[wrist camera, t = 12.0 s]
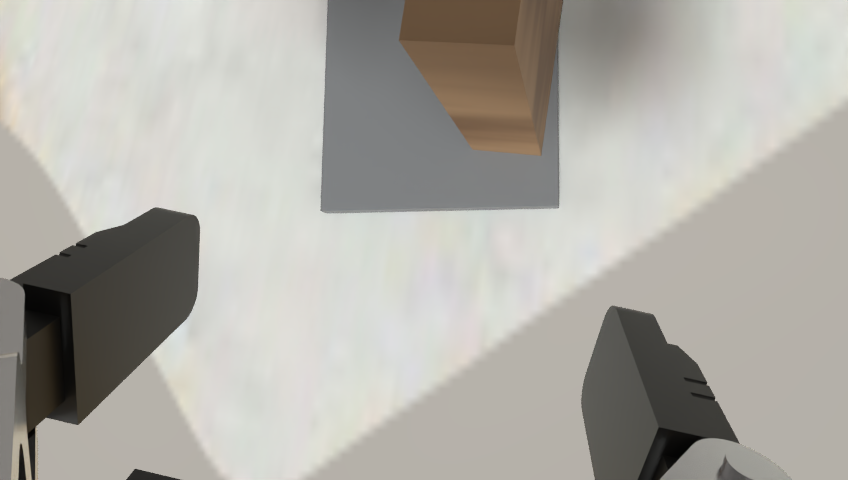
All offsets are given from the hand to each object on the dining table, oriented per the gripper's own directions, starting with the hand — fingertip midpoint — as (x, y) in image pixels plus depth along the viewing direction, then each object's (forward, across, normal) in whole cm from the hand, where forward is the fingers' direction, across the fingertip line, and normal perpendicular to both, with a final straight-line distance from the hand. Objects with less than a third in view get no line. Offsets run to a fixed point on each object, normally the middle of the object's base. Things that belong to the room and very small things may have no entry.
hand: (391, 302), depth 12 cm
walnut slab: (+13, -2, -3) cm, 13 cm away
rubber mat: (+14, +1, -2) cm, 14 cm away
